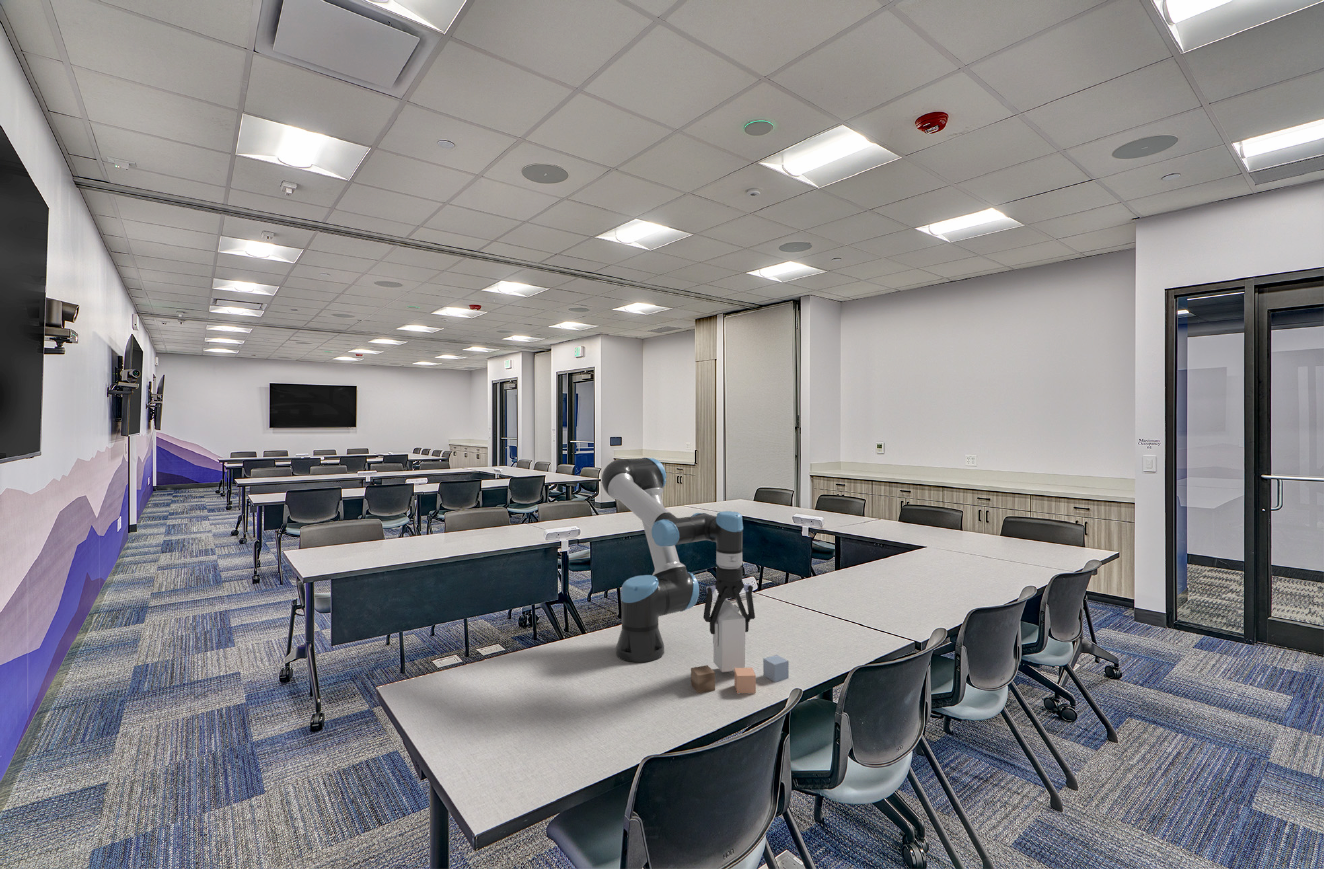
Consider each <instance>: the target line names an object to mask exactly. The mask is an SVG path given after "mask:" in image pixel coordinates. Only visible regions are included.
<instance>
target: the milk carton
mask: <svg viewBox="0 0 1324 869" xmlns="http://www.w3.org/2000/svg"><path fill="white" fill-rule="evenodd" d="M716 622H717V623H718V646H715V645H714V644H713V651H712V652H713V653H712V654H713V662H712V663H714V665H715V666H716V667H717V668H718V670H720V672H722V673H727V672H734V668H746V632H745V618H744V617H743V616H742V614H741V613H740V608H739V607H738V605H737V604H733V603H732V602H731V601H729V600H728V599H725V601H724V602H723V604H722V606H721V609H720V612H719V614H718V617H717V619H716Z"/></svg>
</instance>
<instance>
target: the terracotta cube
mask: <svg viewBox="0 0 1324 869" xmlns="http://www.w3.org/2000/svg"><path fill="white" fill-rule="evenodd" d="M733 672H734V678H733V680H734V684H733V686H734V688H735V691H737V692H736V694H737V695H739V694H738V693H756V694H757V690H756V689H757V687H756V686H757V681H756V679H757V675H756V674H755V673H756V672H755V670H754V668H753V667H745V668H734V671H733Z"/></svg>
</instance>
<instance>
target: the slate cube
mask: <svg viewBox="0 0 1324 869" xmlns="http://www.w3.org/2000/svg"><path fill="white" fill-rule="evenodd" d="M762 662H763V664H762V668H763V669H762V670H763V673H762V675H763V676H764V677H765V678H767V679H769V681H772V682H774V683H777V682H779V681H780V682H781V681H783V680H788V679H789V677H790V676H789V667H790V666H789V660H787V659H786V658H784V657H782V656H780V655H778V654H775V655H772V656H768V657H763V659H762Z"/></svg>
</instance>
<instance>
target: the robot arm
mask: <svg viewBox="0 0 1324 869" xmlns="http://www.w3.org/2000/svg"><path fill="white" fill-rule="evenodd" d="M601 474H602V475H601V484H602V487H603V489H604V491H605V492H606V494H607V495H608V496H610V498H612V499H614V500H617V501H620V502H621V503H622V504H623V505H624V506H626V508H627V509H628V510H630V511H631V512H632V513H633V514H634V515H635V516H636V517H638V519H640V520H641V521H642V522H641V523H642V524H643V525H642V526H643V531H644V534H645V537H646V540H647V544H648V548H649V553H650V556H651V559H652V563H653V566H654V571H653V573H652V575H651V574H644V575H642V574H641V575H635V576H633V577H629V578H628V579H626V580H625V581H624V582H623V584H622V585H621V593H620V600H621V602H620V603H621V608H620V609H621V629H620V633H619V638H618V640H617V644H616V656H617V657H618V658H619V659H620V660H623V661H627V662H632V663H646V662H647V663H648V662H651V661H655V660H659V659H660V658H662V657H663V656H664V654H665V644H664V640H663V637H662V635H661V631H660V628H659V617H662V616H663V617H664V616H667V615H670V614H675V613H678V612H684V611H686V610H688V609H689V610H690V609H691V608H693V607H694V606H696V604H697V602H698V599H699V595H700V586H699V581H698V580H697V577H696V576H695V574H693V573H692V572H690V571H688V570H687V567H686V565H685V564H684V563H682V562H680V558H679V555H678V552H677V548H676V546H677V545H682V544H689V543H695V542H697V543H698V542H701V541H710V542H713V543H716V544H715V545H716V548H715V549H716V551H715V552H716V553H715V554H716V556H715V557H716V559H715V561H716V562H715V564H716V568H715V572H716V580H715V583H714V584H713V585H706V586H705V590H706V592H705V593H706V596H705V604H704V609H703V619H704V621H705V622H707V623H709V632H710V634H711V635H712V644H713V646H714V645H715V646H718V623H717V622H716V619H717V617H718V614H719V612H720V609H721V606H722V604H723V603H724V601H725V599H727V600H728V599H734V600H735V602H736V605H737V607H739V608H740V610H739V613H740V614H741V615H742V616H743V617H744V618H745V633H748V632H749V623H750V622H751V620H755V619H756V615H755V606H754V599H753V590H754V587H753V585H751V584H750V583H744V582H743V566H742V565H743V537H744V536H743V535H744V534H743V533H744V532H743V531H744V524H743V515H742V514H741V513H740V512H737V511H731V510H729V511H728V510H726V511H719V512H717V514H716V515H712V514H709V513H707V512H706V513H705V512H695V513H693V514H692V515H690V516H685V517H677V516H675V515H674V514H673V513H671V511H669V510H668V509H667V508H666V507H665V506H664V501H663V499H662V494H663V492H664V487H665V486H666V484H667V473H666V469H665V466H664V465H663V464H662V462H661V461H660V460H658V459H656V458H654V457H641V458H640V457H639V458H624V459H623V458H622V459H616V460H613V461H611V462H609V464H607V465H606V467H605V468H604V469H603V472H602V473H601ZM715 590H716V591H717V592H718V594H717V597H716V601H715V604H714V605H712V604H713V595H714V594H715ZM742 590H743V591H744V592H745V599H746V605H747V611H746V607H745V606H744V603H743V600H742V597H741V595H740V593H741V592H742ZM712 606H713V608H712Z"/></svg>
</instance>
